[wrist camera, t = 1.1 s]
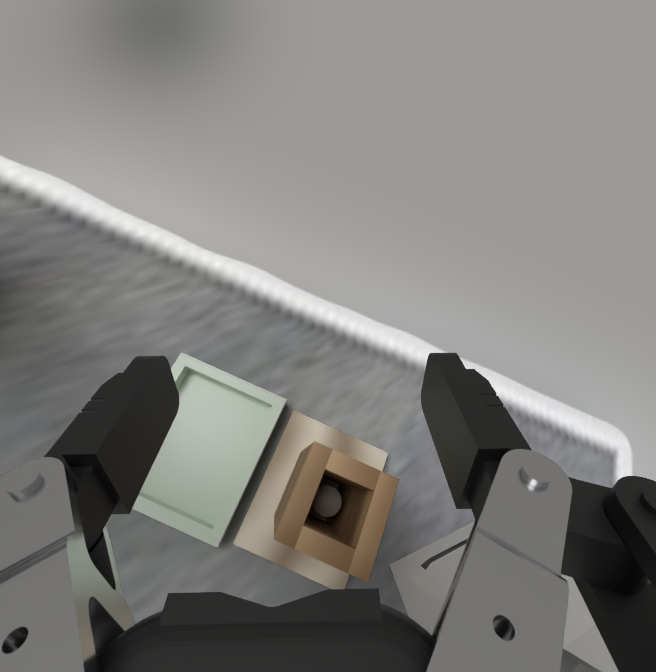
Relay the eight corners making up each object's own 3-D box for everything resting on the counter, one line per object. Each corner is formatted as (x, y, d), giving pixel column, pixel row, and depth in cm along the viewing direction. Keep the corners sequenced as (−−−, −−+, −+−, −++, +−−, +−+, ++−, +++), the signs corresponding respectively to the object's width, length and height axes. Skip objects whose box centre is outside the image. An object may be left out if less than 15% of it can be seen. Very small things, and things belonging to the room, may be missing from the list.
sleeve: (274, 514, 30) (274, 539, 19) (300, 451, 32) (314, 441, 21) (333, 541, 30) (368, 582, 19) (355, 476, 32) (399, 479, 21)
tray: (106, 489, 30) (92, 490, 28) (187, 360, 35) (181, 352, 33) (221, 541, 30) (217, 547, 27) (285, 404, 35) (286, 399, 32)
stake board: (234, 540, 30) (220, 564, 22) (292, 412, 35) (298, 395, 27) (339, 588, 30) (363, 630, 22) (383, 453, 34) (415, 448, 27)
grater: (483, 516, 34) (737, 570, 15) (540, 640, 30) (947, 896, 12) (389, 564, 31) (558, 700, 13) (441, 705, 28) (768, 1162, 9)
